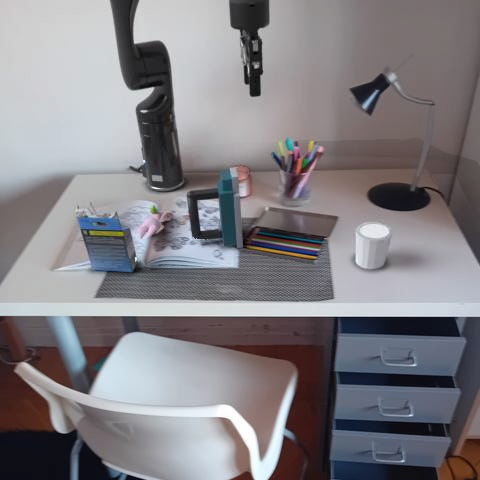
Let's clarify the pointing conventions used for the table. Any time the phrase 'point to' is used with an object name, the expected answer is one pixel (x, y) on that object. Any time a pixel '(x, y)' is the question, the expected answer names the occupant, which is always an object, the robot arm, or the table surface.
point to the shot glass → (372, 244)
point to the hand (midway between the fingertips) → (252, 90)
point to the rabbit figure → (151, 224)
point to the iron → (227, 207)
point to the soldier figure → (94, 213)
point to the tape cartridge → (108, 244)
